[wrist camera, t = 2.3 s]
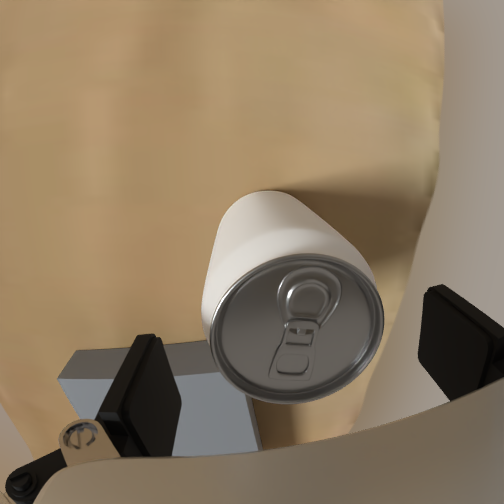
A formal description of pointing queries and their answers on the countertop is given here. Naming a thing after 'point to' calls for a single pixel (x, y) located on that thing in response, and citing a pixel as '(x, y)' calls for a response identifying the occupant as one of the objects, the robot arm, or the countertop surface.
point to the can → (288, 302)
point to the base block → (191, 391)
